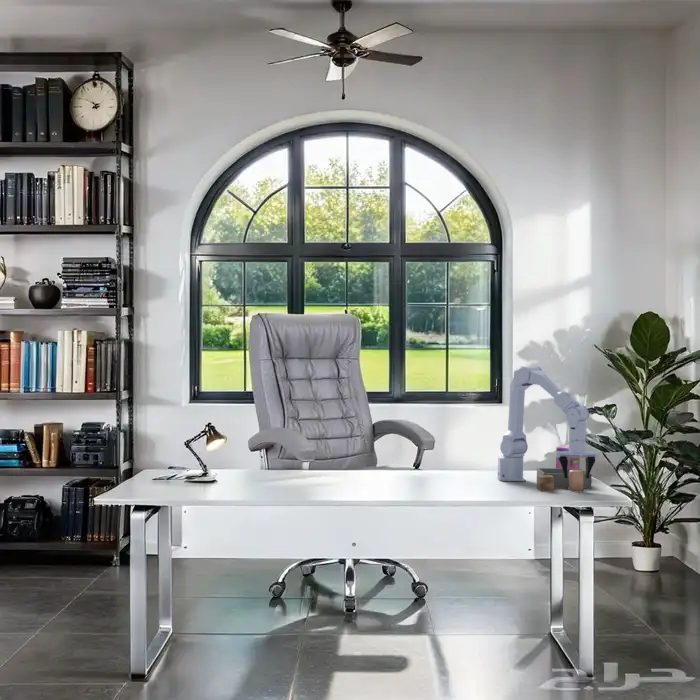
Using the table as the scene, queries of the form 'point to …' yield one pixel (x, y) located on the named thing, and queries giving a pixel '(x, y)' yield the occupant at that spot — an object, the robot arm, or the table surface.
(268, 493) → the table surface
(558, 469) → the tote
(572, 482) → the terracotta cylinder
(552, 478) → the walnut cube
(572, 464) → the box
